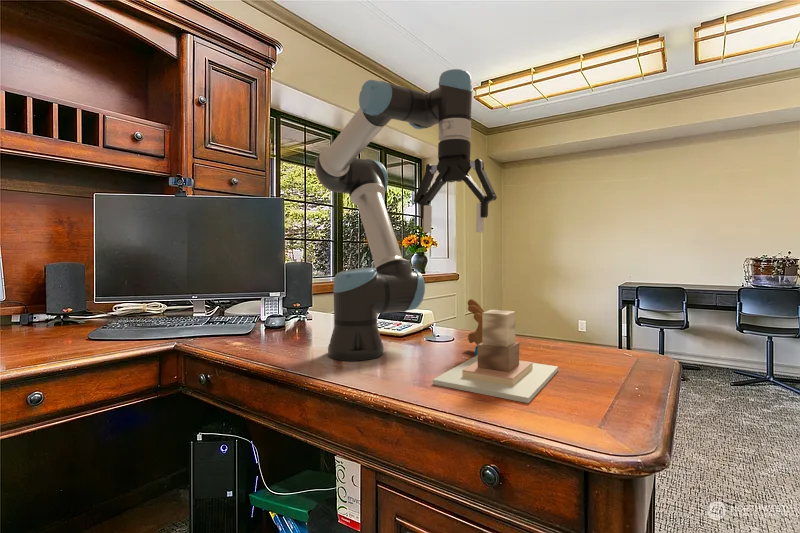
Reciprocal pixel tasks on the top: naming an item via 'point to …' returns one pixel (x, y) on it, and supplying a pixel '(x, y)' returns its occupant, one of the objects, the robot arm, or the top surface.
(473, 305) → the toy
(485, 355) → the walnut block
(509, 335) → the maple block
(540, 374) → the board
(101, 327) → the top surface
